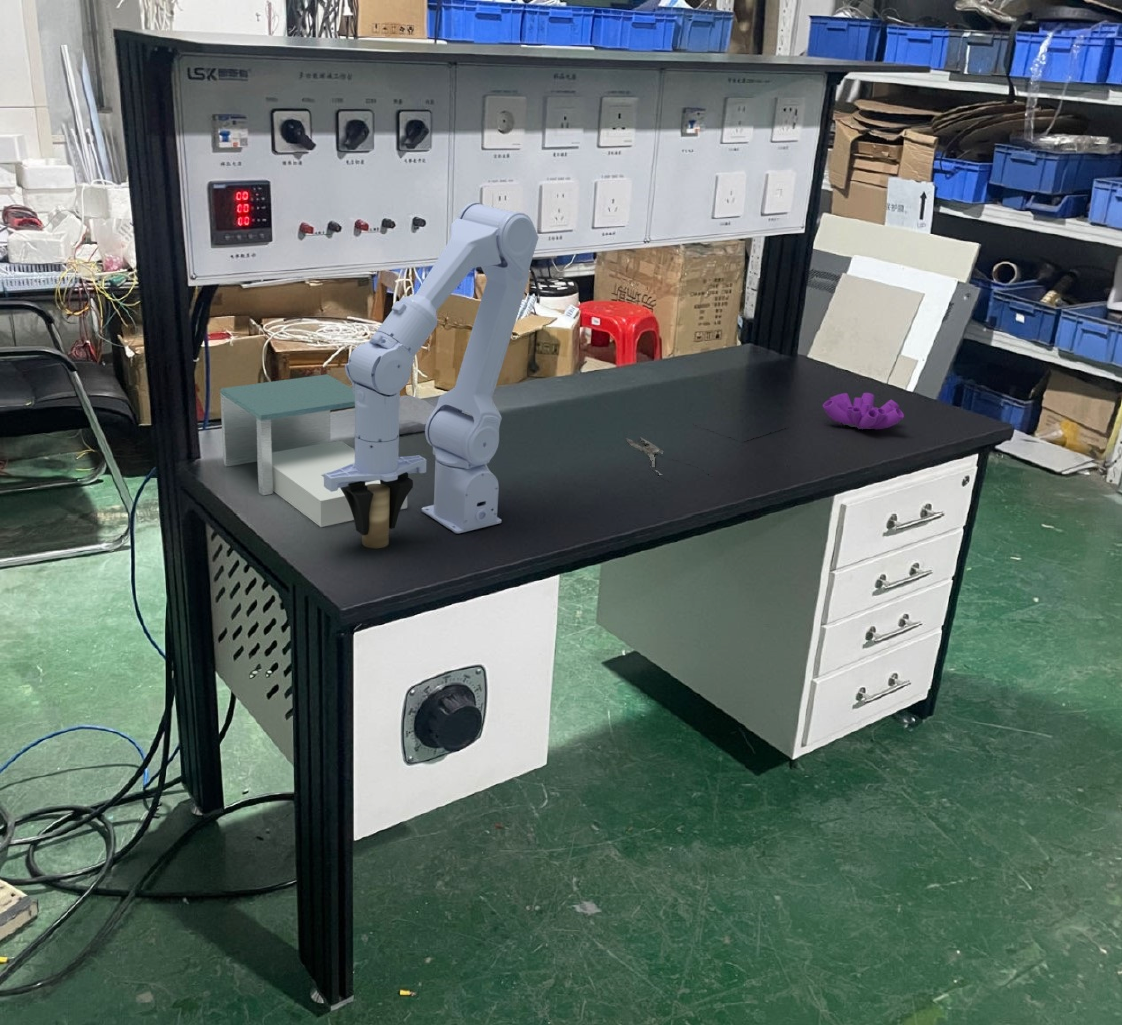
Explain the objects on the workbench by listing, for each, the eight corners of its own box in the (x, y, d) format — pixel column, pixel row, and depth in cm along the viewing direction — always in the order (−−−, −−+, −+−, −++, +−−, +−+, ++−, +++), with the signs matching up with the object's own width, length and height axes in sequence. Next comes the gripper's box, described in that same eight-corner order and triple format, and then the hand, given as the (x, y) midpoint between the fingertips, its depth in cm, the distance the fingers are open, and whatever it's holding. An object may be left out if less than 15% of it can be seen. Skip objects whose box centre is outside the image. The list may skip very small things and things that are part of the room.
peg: (393, 544, 151) (394, 490, 148) (370, 550, 149) (371, 495, 145) (380, 535, 153) (381, 481, 150) (357, 540, 151) (357, 486, 148)
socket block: (407, 508, 163) (407, 482, 161) (320, 527, 154) (320, 500, 153) (340, 464, 176) (340, 440, 175) (258, 479, 168) (257, 454, 166)
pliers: (676, 482, 179) (597, 443, 193) (675, 487, 180) (597, 448, 194) (718, 472, 185) (639, 435, 199) (717, 477, 185) (638, 440, 199)
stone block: (444, 435, 198) (406, 411, 203) (448, 412, 196) (409, 387, 200) (395, 452, 190) (356, 426, 194) (399, 428, 187) (359, 402, 192)
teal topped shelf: (370, 474, 173) (371, 398, 169) (263, 495, 163) (260, 415, 158) (327, 446, 183) (327, 374, 178) (223, 464, 172) (220, 388, 167)
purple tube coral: (829, 432, 222) (849, 390, 223) (898, 453, 213) (919, 410, 214) (812, 408, 213) (833, 365, 214) (883, 429, 204) (905, 384, 205)
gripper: (342, 453, 138) (342, 551, 143) (440, 435, 146) (436, 529, 152) (315, 436, 143) (316, 531, 148) (411, 420, 151) (409, 510, 157)
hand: (375, 529), depth 150 cm, fingers closed on peg, 4 cm apart
